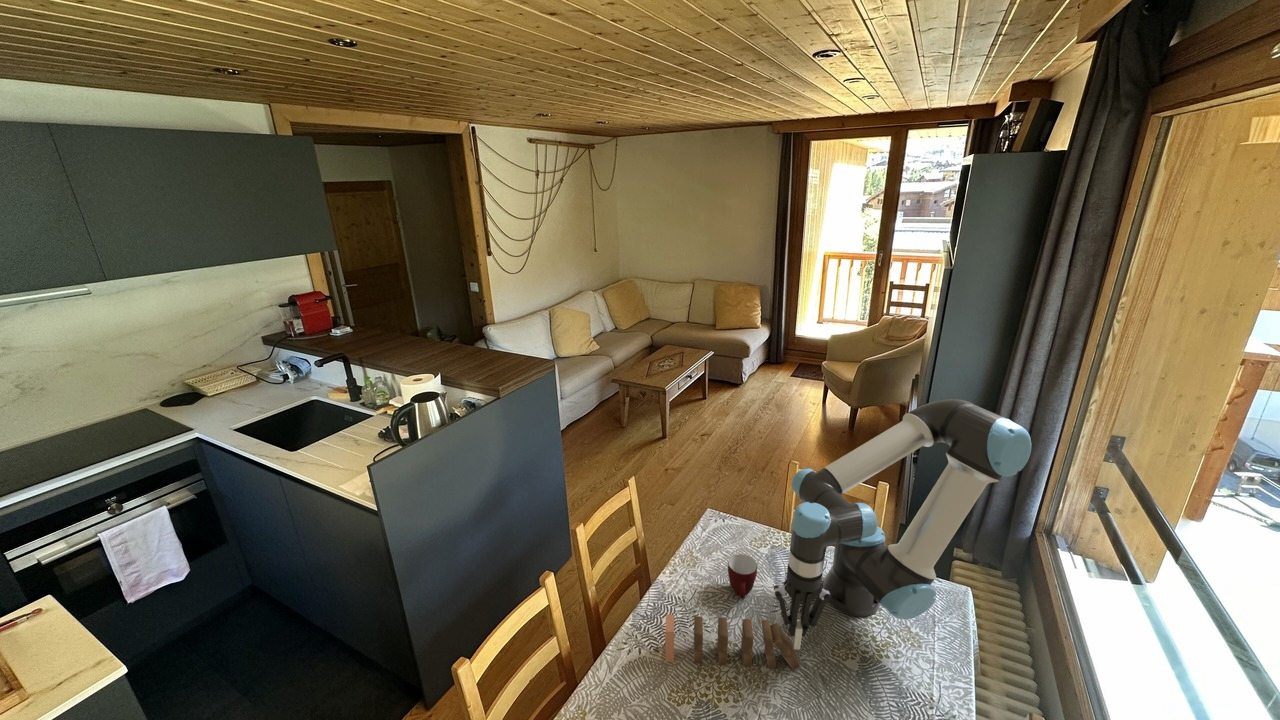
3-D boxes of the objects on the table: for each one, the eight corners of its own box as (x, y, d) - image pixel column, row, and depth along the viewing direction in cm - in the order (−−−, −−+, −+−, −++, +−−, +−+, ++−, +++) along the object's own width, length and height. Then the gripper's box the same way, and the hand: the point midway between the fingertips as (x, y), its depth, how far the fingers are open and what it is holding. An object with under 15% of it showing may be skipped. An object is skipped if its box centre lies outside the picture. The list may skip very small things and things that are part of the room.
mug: (759, 610, 136) (761, 581, 133) (729, 609, 136) (731, 581, 133) (752, 581, 146) (754, 554, 143) (725, 580, 146) (726, 553, 143)
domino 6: (796, 648, 123) (777, 622, 121) (800, 667, 119) (780, 639, 116) (788, 651, 124) (769, 625, 122) (792, 670, 119) (772, 642, 117)
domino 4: (748, 649, 125) (751, 619, 121) (751, 667, 120) (753, 636, 117) (740, 648, 125) (742, 618, 122) (742, 666, 120) (744, 636, 117)
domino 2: (701, 646, 126) (702, 616, 123) (702, 664, 121) (703, 633, 118) (693, 645, 126) (693, 615, 123) (693, 663, 121) (694, 633, 118)
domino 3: (725, 647, 125) (726, 617, 122) (726, 665, 121) (728, 635, 117) (716, 647, 126) (718, 617, 122) (718, 665, 121) (719, 634, 117)
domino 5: (773, 649, 124) (769, 619, 121) (776, 667, 120) (772, 637, 116) (764, 650, 124) (760, 620, 121) (767, 668, 120) (763, 637, 117)
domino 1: (673, 644, 127) (674, 614, 123) (673, 662, 122) (673, 631, 118) (665, 644, 127) (665, 614, 123) (665, 661, 122) (665, 631, 119)
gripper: (830, 556, 115) (819, 632, 123) (773, 554, 116) (765, 629, 124) (839, 581, 108) (827, 660, 116) (779, 577, 109) (770, 656, 117)
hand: (795, 644), depth 120 cm, fingers closed
